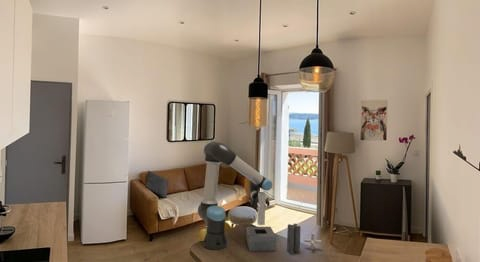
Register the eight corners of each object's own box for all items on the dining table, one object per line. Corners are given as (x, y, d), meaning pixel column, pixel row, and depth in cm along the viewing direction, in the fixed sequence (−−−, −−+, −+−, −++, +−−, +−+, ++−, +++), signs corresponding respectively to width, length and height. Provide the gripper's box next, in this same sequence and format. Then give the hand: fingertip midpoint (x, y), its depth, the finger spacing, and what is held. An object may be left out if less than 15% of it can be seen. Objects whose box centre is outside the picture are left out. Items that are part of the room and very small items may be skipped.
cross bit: (285, 252, 179) (286, 226, 178) (288, 247, 186) (289, 222, 185) (298, 255, 176) (298, 228, 175) (300, 250, 183) (301, 224, 182)
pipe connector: (321, 253, 179) (321, 237, 178) (304, 251, 181) (304, 235, 180) (320, 246, 189) (320, 231, 188) (304, 244, 191) (304, 229, 190)
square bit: (258, 225, 185) (259, 193, 184) (257, 222, 189) (258, 192, 188) (264, 224, 186) (265, 193, 185) (263, 222, 190) (264, 191, 189)
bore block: (249, 251, 179) (250, 236, 179) (246, 240, 195) (246, 226, 195) (275, 250, 181) (275, 236, 181) (270, 239, 197) (270, 226, 197)
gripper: (268, 202, 206) (276, 213, 183) (244, 202, 204) (249, 214, 181) (269, 191, 205) (276, 201, 182) (244, 192, 204) (249, 202, 180)
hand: (262, 207), depth 182 cm, fingers closed on square bit, 4 cm apart
